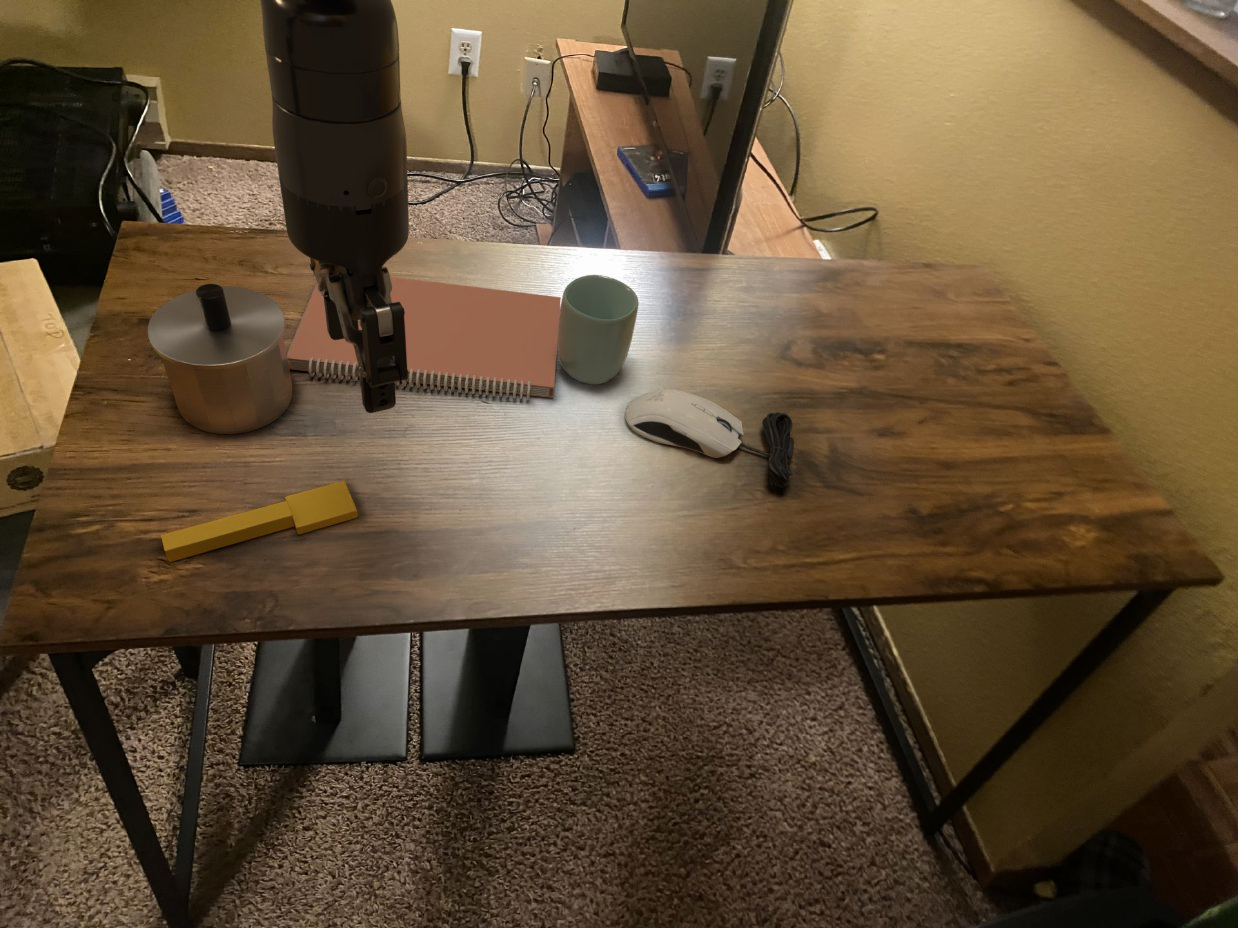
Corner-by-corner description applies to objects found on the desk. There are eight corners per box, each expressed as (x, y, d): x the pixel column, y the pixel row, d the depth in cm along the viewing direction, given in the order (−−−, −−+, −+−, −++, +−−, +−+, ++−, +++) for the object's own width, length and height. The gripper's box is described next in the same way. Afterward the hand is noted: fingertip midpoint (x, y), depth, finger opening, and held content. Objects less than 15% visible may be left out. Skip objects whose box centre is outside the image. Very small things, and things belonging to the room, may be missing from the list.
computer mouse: (635, 386, 92) (641, 358, 89) (795, 433, 91) (807, 406, 88) (611, 446, 85) (617, 418, 82) (784, 498, 84) (796, 471, 81)
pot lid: (162, 387, 71) (148, 344, 67) (140, 308, 77) (126, 265, 74) (301, 359, 76) (294, 317, 72) (269, 286, 82) (262, 245, 78)
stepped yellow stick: (171, 572, 68) (166, 560, 67) (163, 537, 70) (158, 525, 69) (358, 517, 74) (356, 506, 73) (345, 487, 76) (343, 475, 75)
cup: (637, 369, 94) (652, 296, 87) (599, 404, 89) (612, 331, 82) (580, 338, 96) (591, 265, 89) (540, 372, 91) (548, 297, 84)
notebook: (284, 377, 85) (282, 362, 83) (324, 281, 96) (322, 266, 95) (551, 406, 88) (553, 392, 86) (559, 309, 99) (560, 295, 98)
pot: (189, 446, 77) (166, 377, 71) (168, 374, 83) (146, 305, 76) (304, 418, 81) (293, 351, 75) (277, 353, 87) (264, 285, 81)
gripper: (250, 119, 53) (284, 323, 65) (313, 241, 45) (339, 448, 57) (367, 110, 56) (379, 306, 68) (445, 223, 48) (443, 421, 60)
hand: (361, 370), depth 62 cm, fingers open, 8 cm apart
